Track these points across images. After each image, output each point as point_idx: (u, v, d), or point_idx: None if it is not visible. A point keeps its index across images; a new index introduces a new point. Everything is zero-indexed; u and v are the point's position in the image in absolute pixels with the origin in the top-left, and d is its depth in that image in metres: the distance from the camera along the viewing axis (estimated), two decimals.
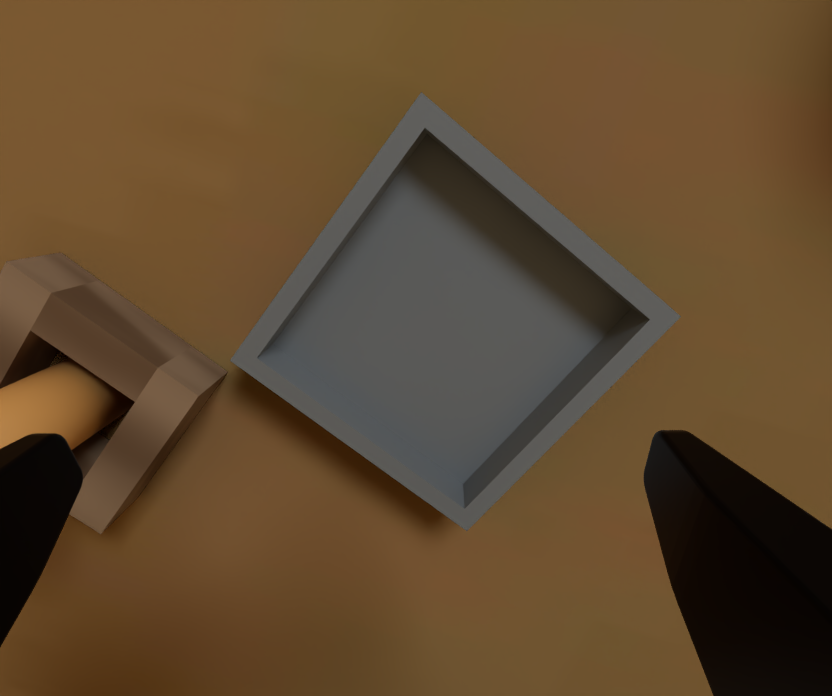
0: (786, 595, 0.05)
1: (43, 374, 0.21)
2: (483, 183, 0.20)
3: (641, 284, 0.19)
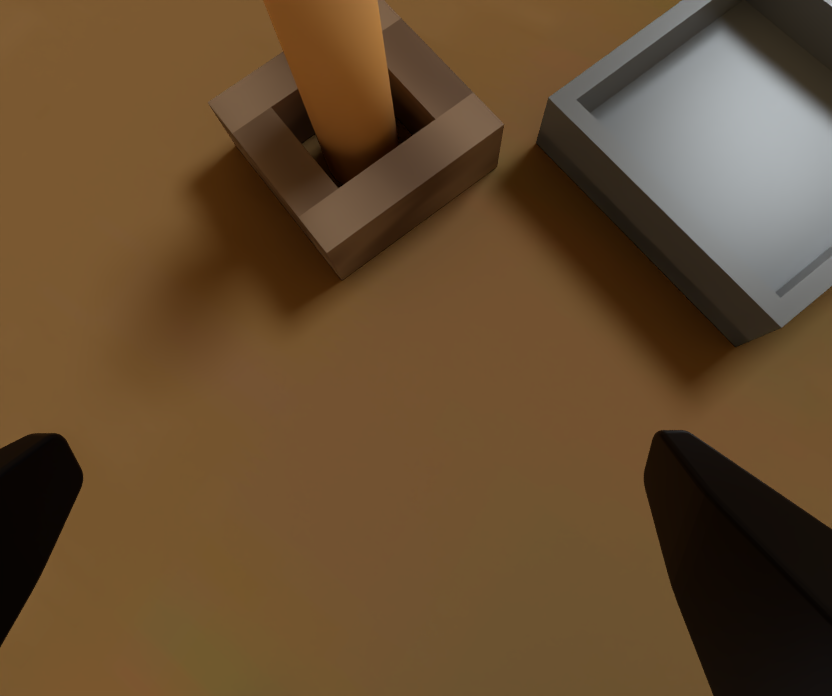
0: (786, 595, 0.05)
1: None
2: (790, 38, 0.23)
3: None
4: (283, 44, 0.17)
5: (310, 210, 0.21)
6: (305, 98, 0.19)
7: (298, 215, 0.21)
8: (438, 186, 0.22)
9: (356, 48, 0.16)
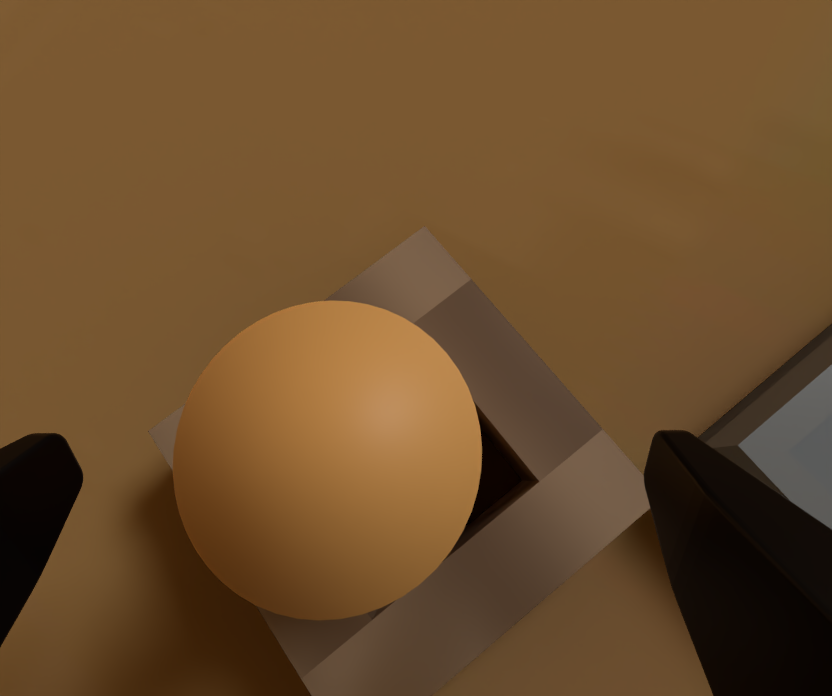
0: (786, 595, 0.05)
1: None
2: None
3: None
4: None
5: (321, 661, 0.12)
6: None
7: (301, 675, 0.11)
8: None
9: None
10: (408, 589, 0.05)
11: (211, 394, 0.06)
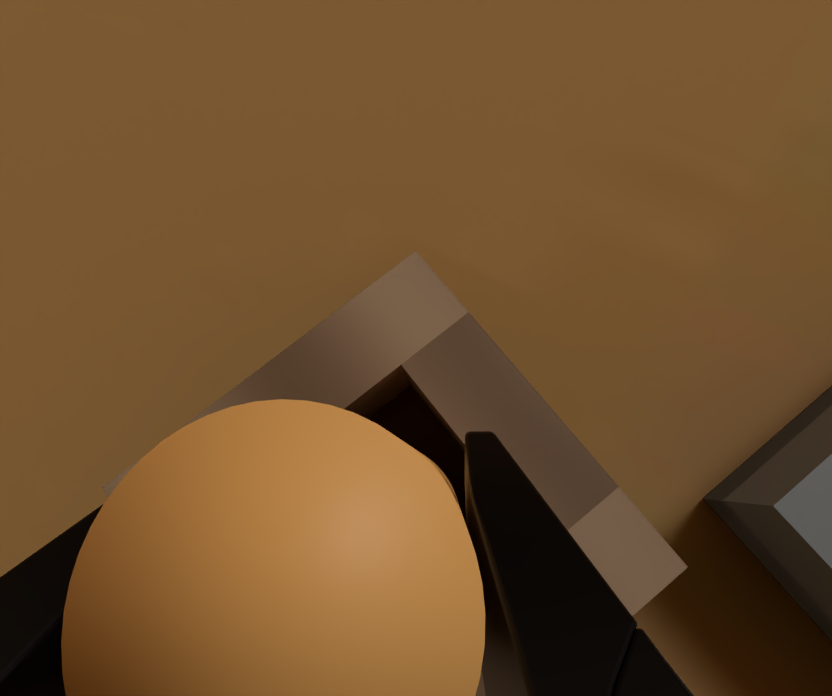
0: (493, 591, 0.05)
1: None
2: None
3: None
4: None
5: None
6: None
7: None
8: None
9: None
10: None
11: (118, 531, 0.04)
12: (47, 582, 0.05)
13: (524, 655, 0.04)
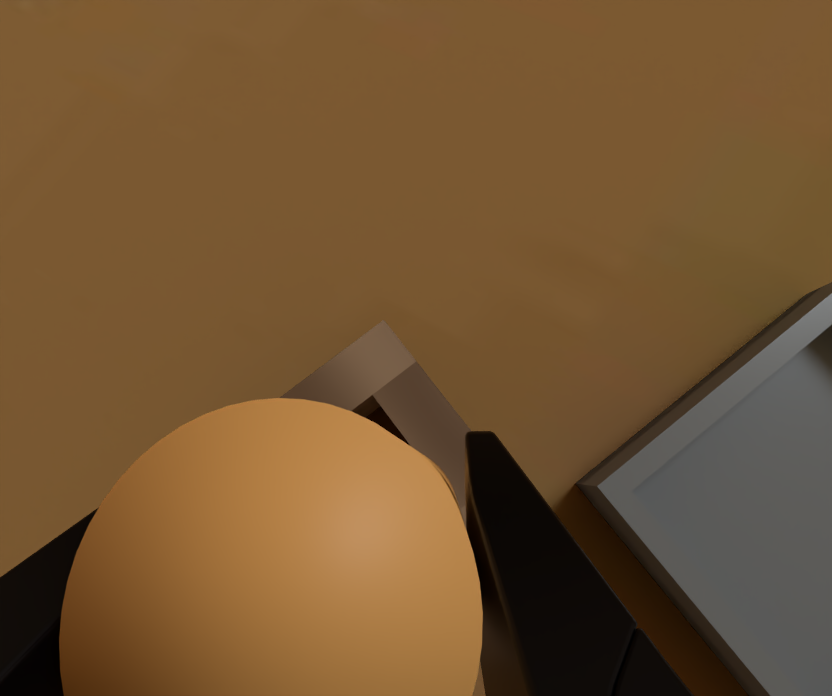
0: (493, 591, 0.05)
1: None
2: None
3: None
4: None
5: None
6: None
7: None
8: None
9: None
10: None
11: (116, 530, 0.04)
12: (47, 582, 0.05)
13: (524, 655, 0.04)
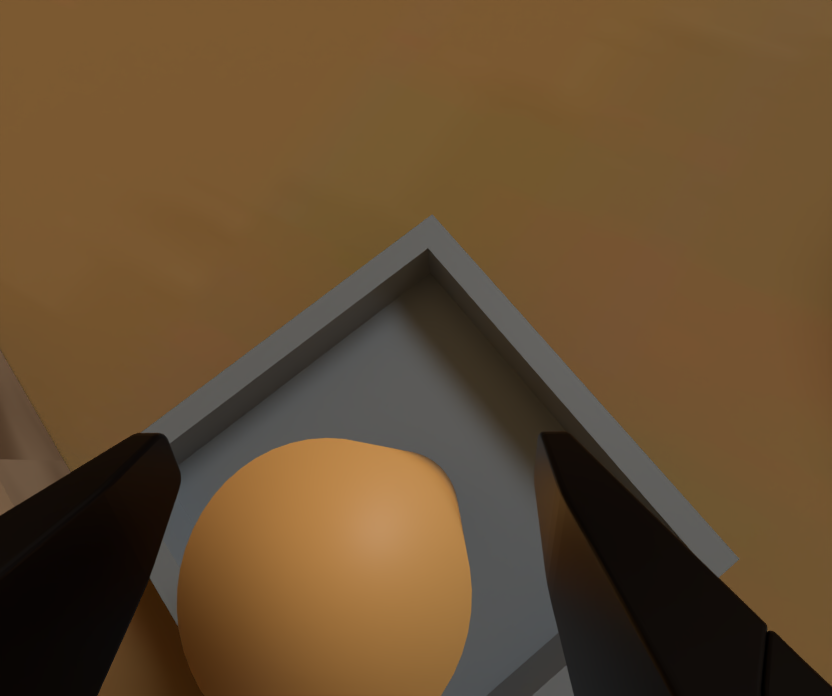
0: (605, 593, 0.05)
1: (407, 451, 0.13)
2: (484, 337, 0.17)
3: (680, 495, 0.13)
4: None
5: None
6: None
7: None
8: None
9: None
10: None
11: (212, 533, 0.06)
12: None
13: (660, 659, 0.04)
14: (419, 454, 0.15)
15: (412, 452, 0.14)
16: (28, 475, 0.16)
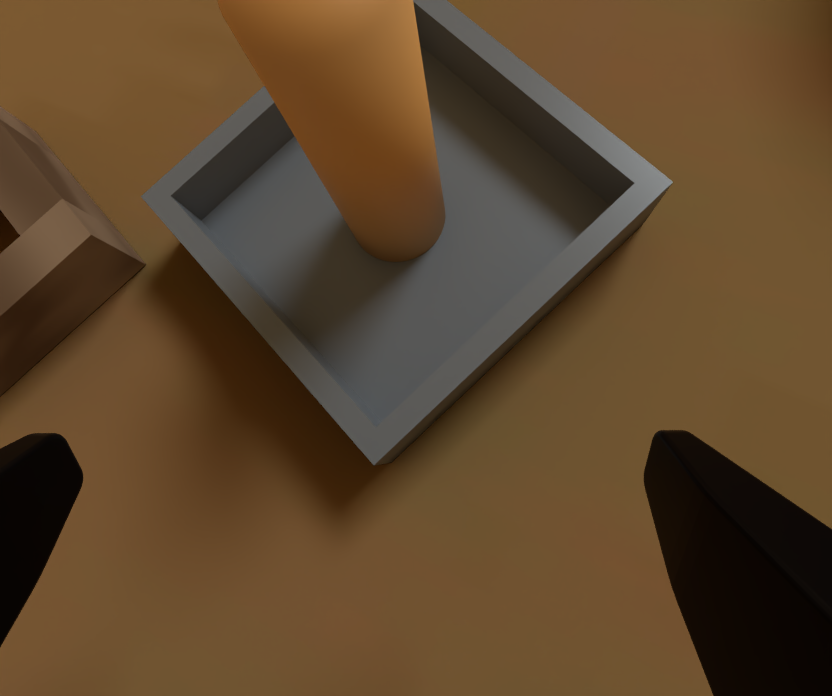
0: (786, 595, 0.05)
1: None
2: (456, 77, 0.20)
3: (621, 142, 0.16)
4: (283, 113, 0.11)
5: None
6: (321, 174, 0.13)
7: None
8: (42, 308, 0.19)
9: (393, 107, 0.11)
10: (365, 27, 0.09)
11: None
12: None
13: None
14: None
15: None
16: (93, 222, 0.19)
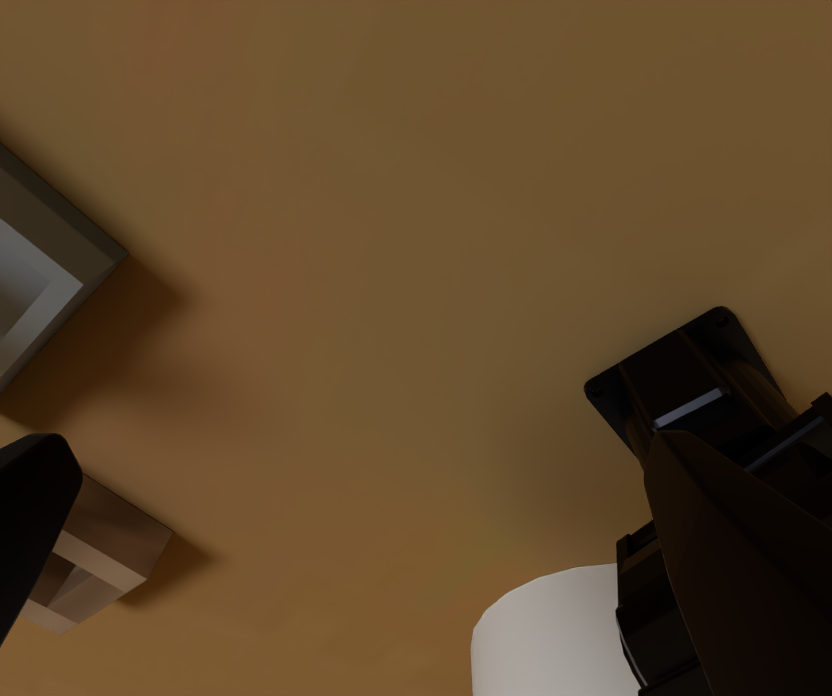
0: (786, 595, 0.05)
1: None
2: None
3: None
4: None
5: (118, 586, 0.27)
6: None
7: (125, 592, 0.27)
8: None
9: None
10: None
11: None
12: None
13: None
14: None
15: None
16: None
